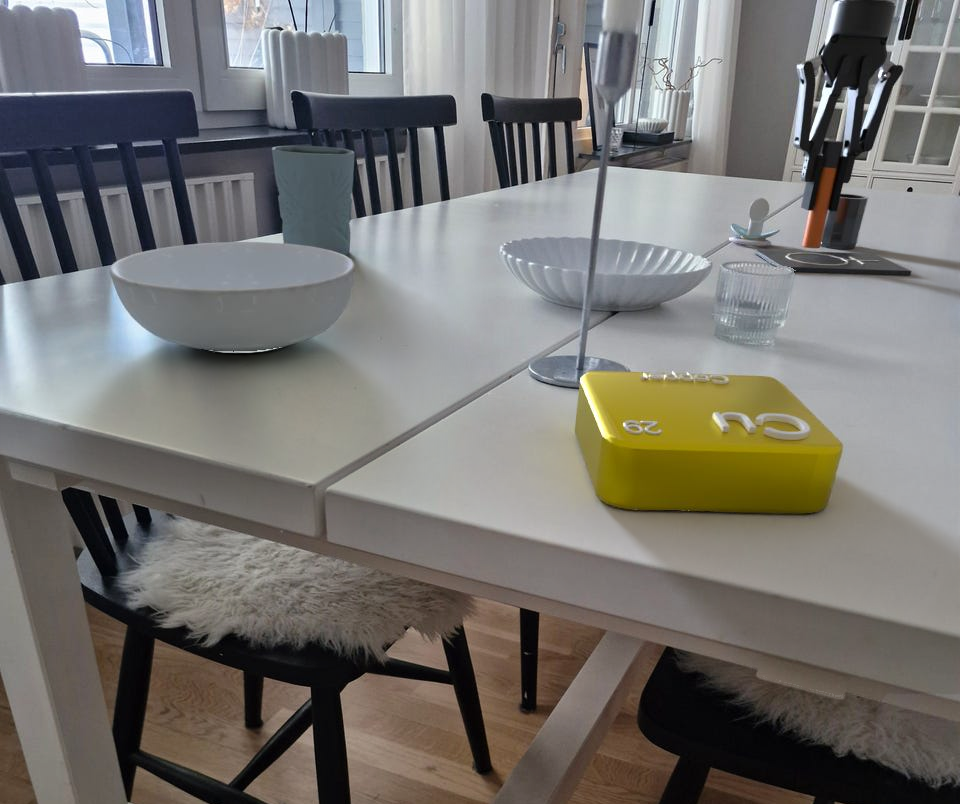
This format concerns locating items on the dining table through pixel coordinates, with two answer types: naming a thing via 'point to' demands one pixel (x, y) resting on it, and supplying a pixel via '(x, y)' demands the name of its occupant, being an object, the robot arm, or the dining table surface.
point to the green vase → (315, 195)
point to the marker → (823, 194)
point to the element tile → (703, 443)
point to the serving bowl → (235, 293)
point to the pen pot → (844, 222)
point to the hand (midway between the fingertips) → (818, 208)
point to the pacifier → (754, 226)
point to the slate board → (833, 262)
